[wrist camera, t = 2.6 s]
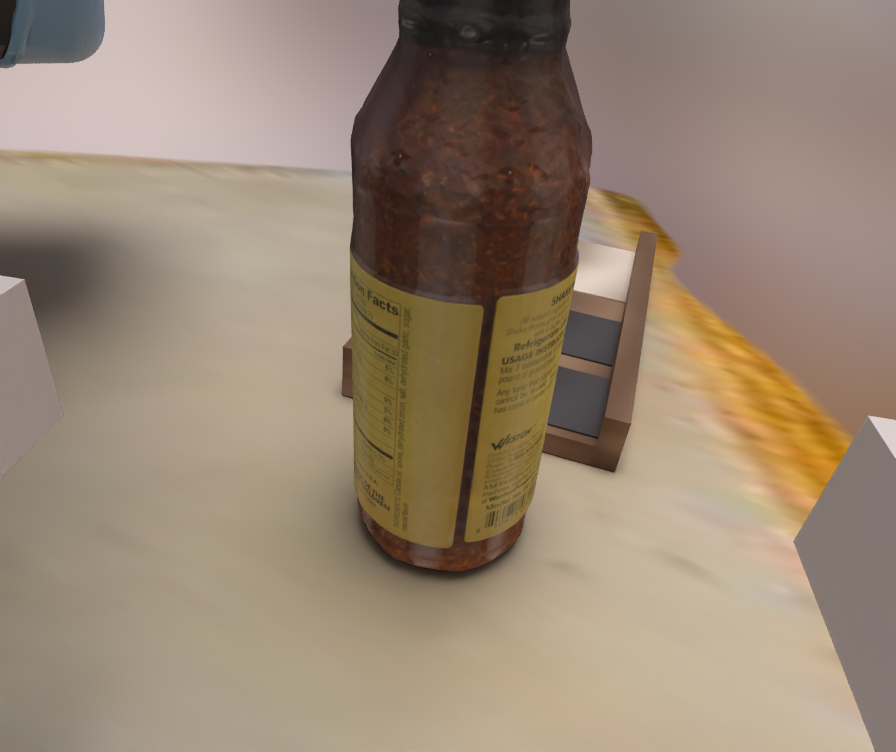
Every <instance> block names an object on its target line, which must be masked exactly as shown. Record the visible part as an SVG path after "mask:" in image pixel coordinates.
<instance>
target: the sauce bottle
mask: <svg viewBox="0 0 896 752" xmlns="http://www.w3.org/2000/svg"><path fill="white" fill-rule="evenodd" d="M398 13H399V21H398V23H399V31H400V32H399V38H398V41H397V43H396V46H395V47H394V49H393V51H392V53H391V55H390V57H389V59H388V61H387V62H386V64H385V66H384V68H383V69H382V71H381V73H380V75H379V76H378V78H377V80H376V82H375V84H374V86H373V87H372V89H371V91H370V93H369V94H368V96H367V98H366V100H365V102H364V104H363V107H362V108H361V109H360V111H359V112H358V114H357V115H356V117H355V121H354V125H353V130H352V135H351V156H352V183H353V214H354V218H353V228H352V235H351V242H350V288H351V328H352V379H353V415H354V479H355V490H356V493H357V496H358V504H359V508H360V511H361V515H362V517H363V521H364V522H365V523H366V524H367V528H368V530H369V531H370V533H371V534H372V536H373V537H374V539H375V541H376V542H377V544H379V545H381V547H382V548H383V550H384V551H385V552H387V553H388V554H389V555H390V556H391V557H393V558H394V559H395V560H401V561H403V562H406V563H408V564H412V565H414V566H419V567H423V568H430V569H436V570H445V571H450V572H452V571H465V570H468V569H474V568H476V567H481V566H482V565H484V564H486V563H488V562H491V561H493V560H494V559H495V558H496V557H497V556H499V555H501V554H503V553H504V552H505V551H507V550H508V548H509V547H510V546H511V545H512V544H514V543H515V541H516V540H517V538H518V537H519V536H520V534H521V531H522V528H523V522H524V518H525V512H526V510H527V508H528V507H529V505H530V503H531V501H532V498H533V495H534V490H535V485H536V480H537V475H538V470H539V465H540V460H541V455H542V449H543V444H544V439H545V433H546V428H547V423H548V418H549V412H550V407H551V402H552V397H553V391H554V386H555V381H556V376H557V370H558V365H559V360H560V355H561V350H562V345H563V340H564V335H565V330H566V325H567V320H568V315H569V310H570V305H571V300H572V295H573V290H574V285H575V280H576V275H577V270H578V265H579V252H578V249H577V246H578V237H579V232H580V226H581V222H582V217H583V213H584V209H585V204H586V200H587V194H588V189H589V186H590V174H589V168H590V161H591V154H592V136H591V130H590V128H589V126H588V124H587V121H586V119H585V115H584V112H583V108H582V105H581V101H580V97H579V93H578V90H577V86H576V82H575V79H574V75H573V72H572V68H571V65H570V61H569V57H568V54H567V50H566V42H567V38H568V34H569V31H570V27H571V18H570V0H400V1H399V6H398Z"/></svg>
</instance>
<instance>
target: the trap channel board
mask: <svg viewBox="0 0 896 752" xmlns="http://www.w3.org/2000/svg"><path fill="white" fill-rule="evenodd" d="M656 240H657V234H654V233H649V232H644V231H641V235H640V238H639V242H638V245H637V249H636V252H631V251H626V250H621V249H617V248H612V247H608V246H603V245H598V244H594V243H589V242H585V241H580V240H578V246H577V249H578V252H579V265H578V270H577V275H576V280H575V285H574V290H573V295H572V300H571V305H570V310H569V315H568V320H567V325H566V330H565V335H564V340H563V345H562V350H561V355H560V360H559V365H558V370H557V376H556V381H555V386H554V391H553V397H552V402H551V407H550V412H549V418H548V423H547V428H546V433H545V439H544V444H543V449H542V451H543V452H546V453H550V454H553V455H557V456H560V457H564V458H567V459H571V460H574V461H578V462H581V463H585V464H588V465H592V466H595V467H599V468H603V469H606V470H610V471H613V472H615V469H616V466H617V463H618V460H619V457H620V454H621V451H622V448H623V445H624V443H625V440H626V437H627V434H628V431H629V428H630V425H631V419H632V411H633V404H634V397H635V390H636V383H637V376H638V369H639V362H640V354H641V347H642V340H643V333H644V326H645V319H646V312H647V305H648V297H649V290H650V283H651V276H652V269H653V262H654V255H655V247H656ZM342 395H345V396H349V397H352V398H353V379H352V337H351V338H350V339H349V341H348V342H347V343H346V344H345V345H344V346H343V379H342Z"/></svg>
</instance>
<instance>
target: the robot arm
mask: <svg viewBox="0 0 896 752" xmlns="http://www.w3.org/2000/svg"><path fill="white" fill-rule="evenodd" d="M104 17H105V16H104V0H0V68H10V67H13V66H15V65H16V64H28V63H29V64H30V63H74V62H79V61H82V60H84V59H87V58H88V57H90V56H91V55H93V54H94V53H95V52H96V50H97V49H98V48H99V47H100V45H101V43H102V40H103V37H104V32H105V31H104V30H105V18H104ZM63 416H64V415H63V411H62V408H61V404H60V401H59V397H58V394H57V390H56V387H55V383H54V380H53V377H52V373H51V370H50V366H49V363H48V359H47V356H46V352H45V349H44V345H43V342H42V338H41V335H40V331H39V328H38V324H37V321H36V317H35V314H34V310H33V307H32V304H31V300H30V297H29V293H28V290H27V286H26V283H25V279H19V278H13V277H7V276H1V275H0V478H1V477H2V476H3V475H4V474H5V473H6V472H7V471H8V470H9V469H10V468H11V467H12V466H13V465H14V464H15V463H16V462H17V461H18V460H19V459H20V458H21V457H22V456H23V455H24V454H25V453H26V452H27V451H28V450H29V449H30V448H31V447H32V446H33V445H34V444H35V443H36V442H37V441H38V440H39V439H40V438H41V437H42V436H44V435H45V434H46V433H47V432H48V431H49V430H50V429H51V428H52V427H53V426H54V425H55V424H56V423H57V422H58V421H59V420H60V419H61V418H62V417H63ZM793 542H794V544H795V547H796V549H797V552H798V554H799V557H800V559H801V562H802V565H803V567H804V570H805V572H806V575H807V577H808V580H809V583H810V585H811V588H812V590H813V593H814V595H815V598H816V601H817V603H818V606H819V608H820V611H821V613H822V616H823V618H824V621H825V624H826V626H827V629H828V631H829V634H830V636H831V639H832V642H833V644H834V647H835V649H836V652H837V654H838V657H839V660H840V662H841V665H842V667H843V670H844V672H845V675H846V678H847V680H848V683H849V685H850V688H851V690H852V693H853V695H854V698H855V701H856V703H857V706H858V708H859V711H860V713H861V716H862V719H863V721H864V724H865V726H866V729H867V731H868V734H869V737H870V739H871V742H872V744H873V747H874V749H875V752H896V420H892V419H885V418H879V417H873V416H868V417H867V418H866V420H865V422H864V423H863V425H862V427H861V428H860V430H859V432H858V433H857V435H856V437H855V438H854V440H853V442H852V443H851V445H850V447H849V448H848V450H847V452H846V454H845V455H844V457H843V459H842V460H841V462H840V464H839V465H838V467H837V469H836V470H835V472H834V474H833V475H832V477H831V479H830V481H829V482H828V484H827V486H826V487H825V489H824V491H823V492H822V494H821V496H820V497H819V499H818V501H817V502H816V504H815V506H814V508H813V509H812V511H811V513H810V514H809V516H808V518H807V519H806V521H805V523H804V524H803V526H802V528H801V530H800V531H799V533H798V535H797V536H796V538H795V540H794V541H793Z"/></svg>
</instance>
